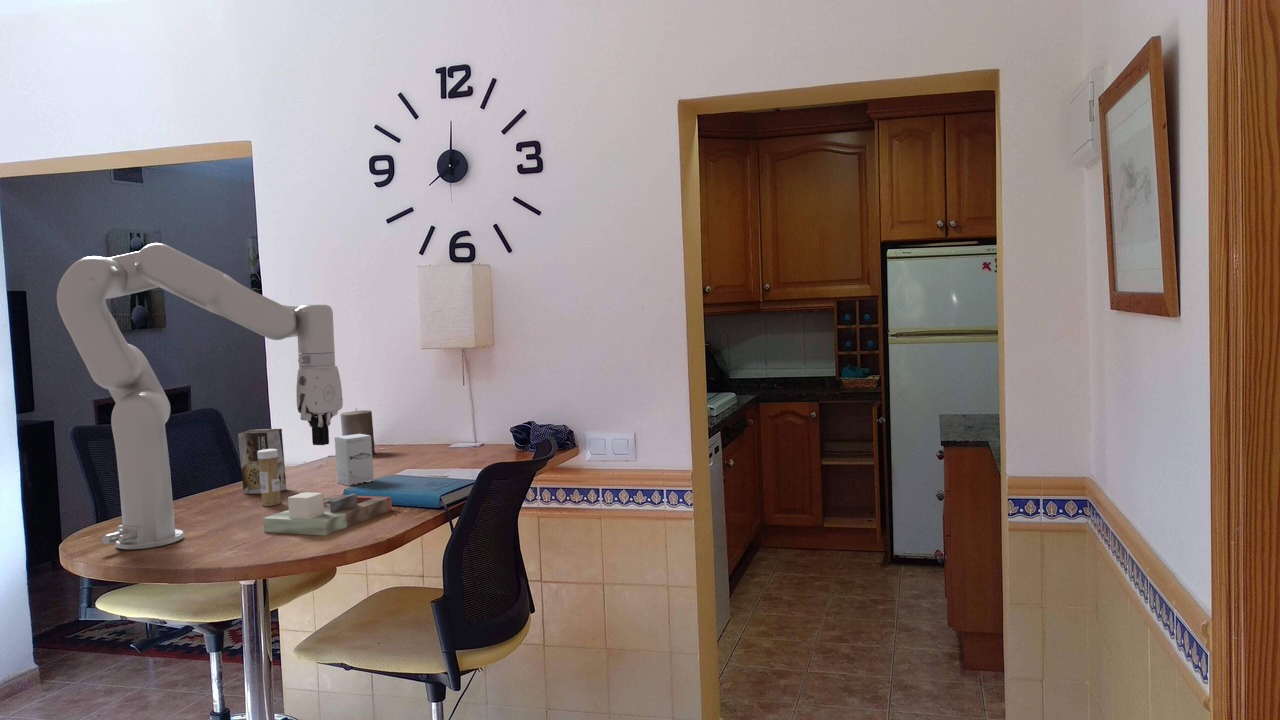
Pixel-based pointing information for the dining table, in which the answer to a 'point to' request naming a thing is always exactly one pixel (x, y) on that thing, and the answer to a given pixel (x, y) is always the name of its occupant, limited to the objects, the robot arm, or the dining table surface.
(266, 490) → the sprinkles bottle
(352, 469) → the supplement box
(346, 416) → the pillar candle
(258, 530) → the dining table surface
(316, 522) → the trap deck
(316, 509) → the cream block
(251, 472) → the coffee box
